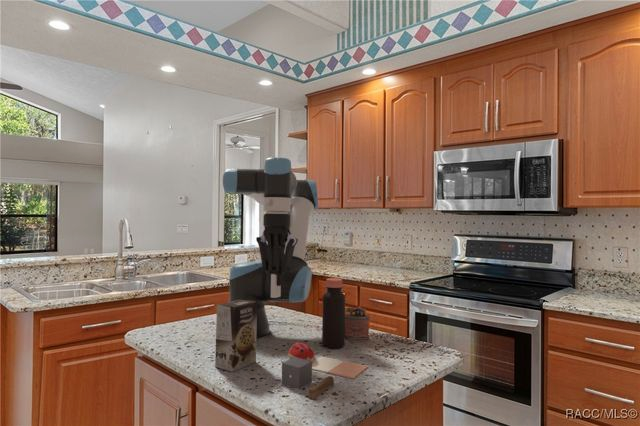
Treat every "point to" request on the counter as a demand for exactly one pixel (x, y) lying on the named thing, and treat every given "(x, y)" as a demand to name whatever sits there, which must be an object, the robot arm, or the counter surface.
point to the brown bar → (321, 387)
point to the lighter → (356, 325)
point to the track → (336, 367)
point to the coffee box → (236, 334)
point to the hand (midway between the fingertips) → (275, 296)
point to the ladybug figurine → (301, 352)
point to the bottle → (333, 315)
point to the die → (296, 373)
